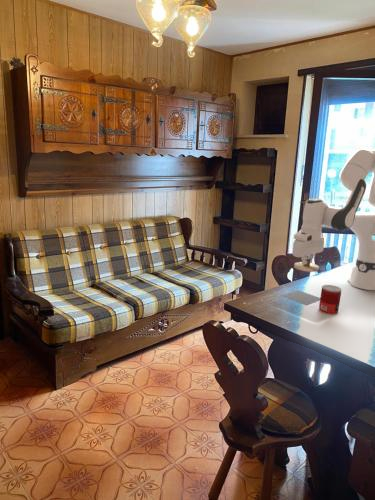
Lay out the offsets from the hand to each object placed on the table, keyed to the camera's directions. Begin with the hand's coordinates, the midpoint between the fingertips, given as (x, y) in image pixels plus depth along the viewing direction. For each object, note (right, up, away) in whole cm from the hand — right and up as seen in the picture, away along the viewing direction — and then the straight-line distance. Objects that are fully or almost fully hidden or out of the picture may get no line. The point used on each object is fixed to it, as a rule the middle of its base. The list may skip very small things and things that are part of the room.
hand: (306, 263), depth 179 cm
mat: (-1, -17, +4) cm, 17 cm away
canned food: (+6, -21, -10) cm, 24 cm away
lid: (0, -2, +1) cm, 2 cm away
